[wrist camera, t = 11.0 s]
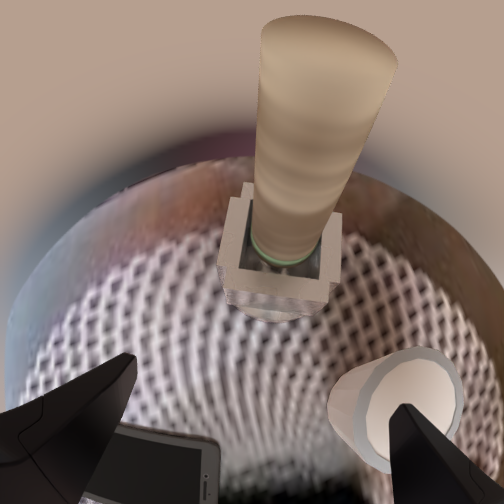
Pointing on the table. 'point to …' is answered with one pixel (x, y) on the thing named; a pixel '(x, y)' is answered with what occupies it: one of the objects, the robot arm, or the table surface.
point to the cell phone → (155, 470)
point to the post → (311, 127)
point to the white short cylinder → (394, 399)
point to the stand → (275, 269)
